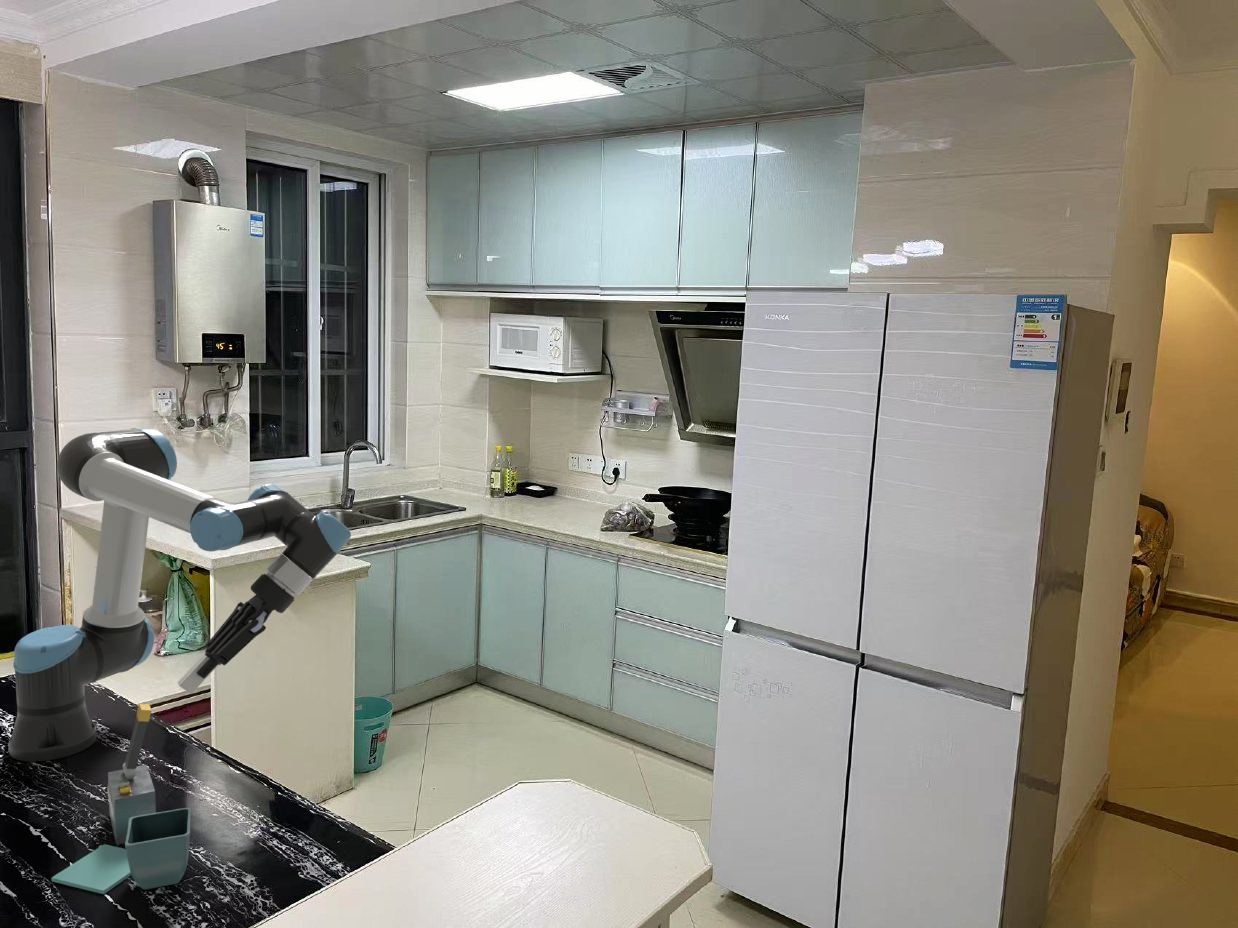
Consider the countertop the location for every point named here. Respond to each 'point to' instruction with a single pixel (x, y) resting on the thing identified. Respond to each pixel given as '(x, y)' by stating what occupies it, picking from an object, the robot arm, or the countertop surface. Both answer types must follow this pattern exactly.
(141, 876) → the flower pot
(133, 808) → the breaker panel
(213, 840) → the countertop surface
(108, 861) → the pad
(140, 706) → the lever
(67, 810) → the countertop surface
